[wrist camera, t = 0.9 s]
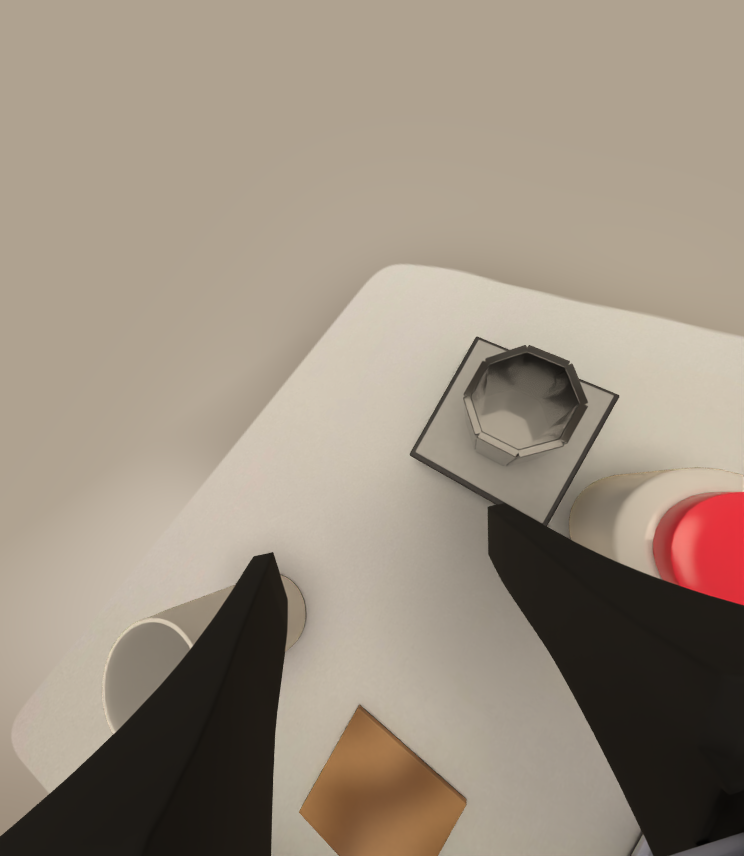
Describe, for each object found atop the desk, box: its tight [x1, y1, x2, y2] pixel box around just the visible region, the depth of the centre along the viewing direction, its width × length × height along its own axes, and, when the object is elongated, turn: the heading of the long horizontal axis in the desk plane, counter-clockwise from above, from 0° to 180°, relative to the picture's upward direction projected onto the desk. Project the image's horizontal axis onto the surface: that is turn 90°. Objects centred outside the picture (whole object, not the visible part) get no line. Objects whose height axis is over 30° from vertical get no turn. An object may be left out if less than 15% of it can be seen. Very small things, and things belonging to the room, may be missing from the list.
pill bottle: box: [569, 467, 744, 605], centre depth 18 cm, size 8×8×11 cm
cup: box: [463, 345, 588, 467], centre depth 20 cm, size 5×5×7 cm
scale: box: [410, 337, 619, 527], centre depth 25 cm, size 10×10×4 cm
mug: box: [102, 575, 306, 734], centre depth 24 cm, size 10×7×12 cm, turn 156°
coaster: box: [299, 705, 466, 856], centre depth 25 cm, size 9×9×1 cm
